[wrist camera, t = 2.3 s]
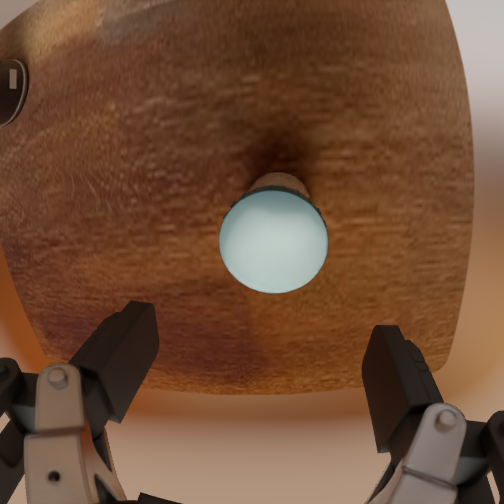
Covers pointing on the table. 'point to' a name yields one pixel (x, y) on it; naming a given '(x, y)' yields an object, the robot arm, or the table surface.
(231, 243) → the jam lid
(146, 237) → the table surface
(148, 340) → the robot arm
